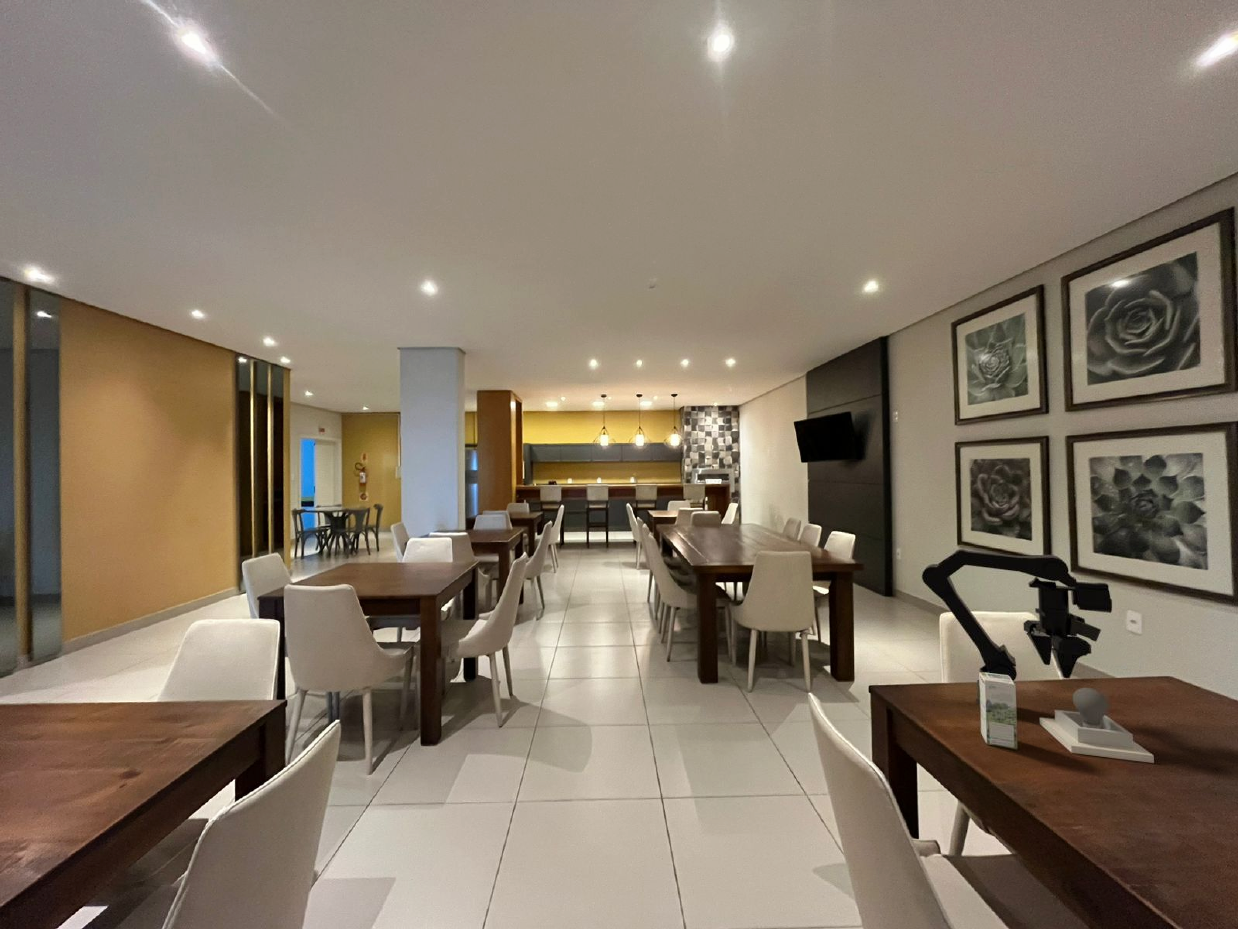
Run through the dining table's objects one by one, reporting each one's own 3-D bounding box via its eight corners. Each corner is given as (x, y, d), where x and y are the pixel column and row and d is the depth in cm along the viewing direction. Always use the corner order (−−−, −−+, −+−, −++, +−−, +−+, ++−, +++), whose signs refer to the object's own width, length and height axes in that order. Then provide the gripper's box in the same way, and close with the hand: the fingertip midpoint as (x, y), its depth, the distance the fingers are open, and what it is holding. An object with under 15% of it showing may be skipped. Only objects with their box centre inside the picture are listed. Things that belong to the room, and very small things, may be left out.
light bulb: (1066, 726, 118) (1065, 683, 118) (1094, 727, 117) (1093, 683, 117) (1087, 740, 112) (1086, 694, 112) (1117, 741, 111) (1116, 695, 111)
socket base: (1071, 752, 109) (1070, 731, 110) (1039, 723, 123) (1039, 704, 123) (1153, 763, 105) (1152, 741, 105) (1111, 731, 119) (1110, 712, 119)
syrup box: (1010, 738, 116) (1008, 674, 116) (1018, 751, 110) (1015, 683, 111) (980, 733, 118) (978, 670, 119) (986, 745, 113) (984, 679, 113)
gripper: (1118, 619, 114) (1121, 689, 113) (1072, 600, 132) (1075, 661, 131) (1058, 615, 117) (1061, 684, 117) (1021, 598, 135) (1023, 657, 134)
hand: (1056, 671), depth 125 cm, fingers open, 9 cm apart
